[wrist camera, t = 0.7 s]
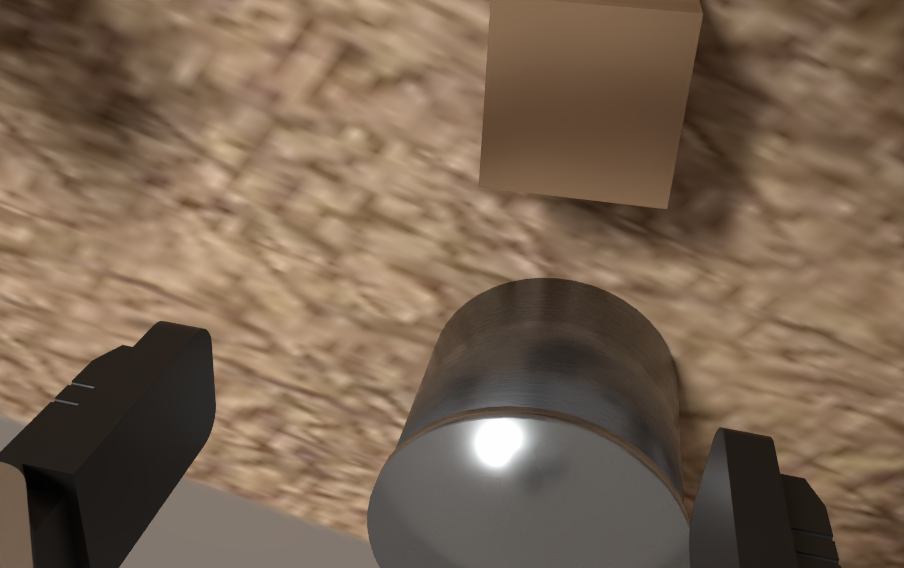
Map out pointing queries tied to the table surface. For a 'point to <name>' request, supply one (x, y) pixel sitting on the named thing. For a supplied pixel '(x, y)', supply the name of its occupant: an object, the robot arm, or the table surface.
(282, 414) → the table surface
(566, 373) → the metal tin
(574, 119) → the walnut block
